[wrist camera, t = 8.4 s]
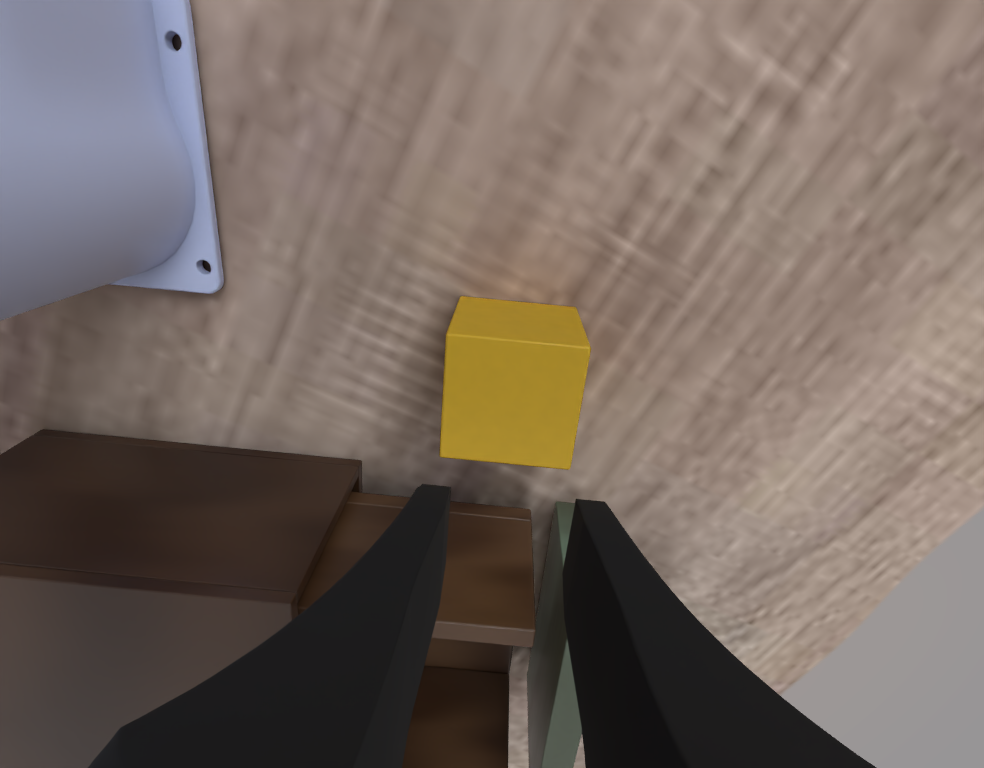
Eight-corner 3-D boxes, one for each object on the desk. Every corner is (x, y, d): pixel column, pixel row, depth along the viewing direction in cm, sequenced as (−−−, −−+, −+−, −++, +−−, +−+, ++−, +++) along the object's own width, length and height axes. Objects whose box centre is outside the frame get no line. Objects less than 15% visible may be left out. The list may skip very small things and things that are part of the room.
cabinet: (361, 460, 23) (290, 604, 16) (365, 653, 28) (311, 831, 21) (41, 429, 23) (-176, 559, 16) (101, 627, 28) (-45, 796, 21)
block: (460, 295, 20) (445, 333, 16) (576, 306, 20) (591, 347, 16) (453, 400, 22) (438, 458, 18) (560, 410, 22) (570, 470, 18)
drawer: (693, 514, 23) (756, 644, 17) (642, 685, 27) (677, 836, 21) (275, 473, 23) (190, 589, 17) (292, 651, 27) (229, 792, 21)
